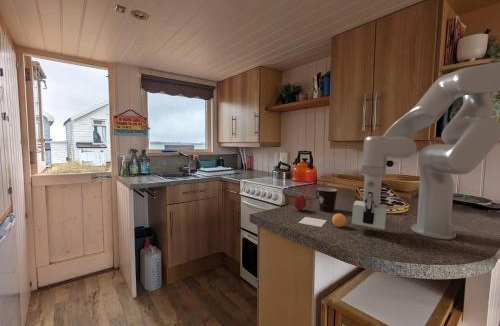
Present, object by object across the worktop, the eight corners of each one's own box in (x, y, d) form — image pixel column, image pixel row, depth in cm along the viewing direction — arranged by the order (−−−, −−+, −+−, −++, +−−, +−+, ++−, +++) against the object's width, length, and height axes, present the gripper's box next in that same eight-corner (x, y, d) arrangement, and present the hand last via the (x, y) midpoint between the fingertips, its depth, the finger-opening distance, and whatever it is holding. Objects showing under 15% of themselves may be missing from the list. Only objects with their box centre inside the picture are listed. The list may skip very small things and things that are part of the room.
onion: (298, 213, 110) (299, 195, 109) (290, 209, 115) (291, 193, 114) (308, 211, 112) (309, 194, 112) (300, 208, 117) (300, 192, 117)
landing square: (326, 220, 99) (326, 220, 99) (321, 227, 91) (321, 226, 91) (305, 217, 103) (305, 216, 103) (298, 223, 96) (298, 222, 96)
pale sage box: (385, 223, 87) (386, 204, 87) (384, 229, 80) (386, 209, 80) (354, 217, 92) (356, 200, 92) (351, 223, 86) (353, 204, 85)
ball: (346, 225, 93) (347, 213, 93) (344, 229, 89) (345, 216, 88) (333, 223, 96) (333, 211, 95) (330, 227, 91) (331, 214, 91)
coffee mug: (339, 213, 110) (340, 191, 109) (320, 212, 110) (320, 191, 110) (331, 206, 122) (331, 186, 121) (313, 206, 122) (314, 186, 121)
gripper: (384, 174, 75) (379, 229, 77) (386, 170, 90) (381, 216, 92) (358, 172, 79) (354, 224, 81) (364, 168, 94) (360, 212, 96)
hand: (369, 220), depth 86 cm, fingers closed on pale sage box, 7 cm apart
